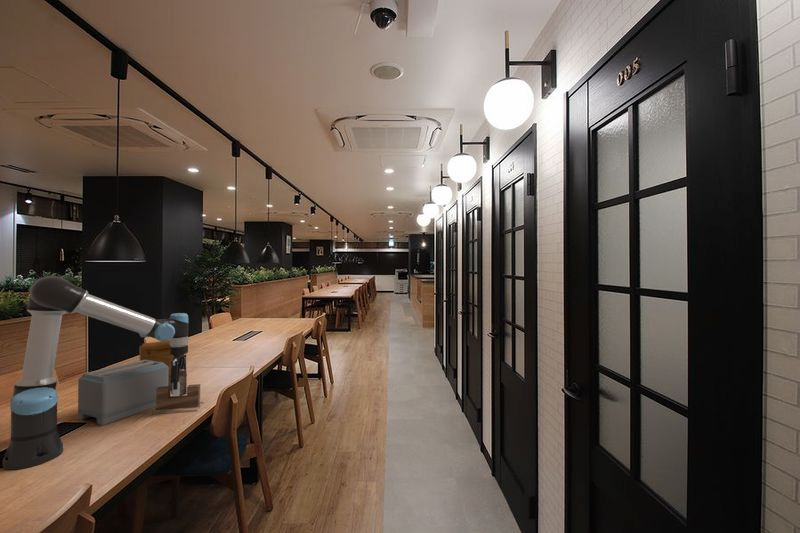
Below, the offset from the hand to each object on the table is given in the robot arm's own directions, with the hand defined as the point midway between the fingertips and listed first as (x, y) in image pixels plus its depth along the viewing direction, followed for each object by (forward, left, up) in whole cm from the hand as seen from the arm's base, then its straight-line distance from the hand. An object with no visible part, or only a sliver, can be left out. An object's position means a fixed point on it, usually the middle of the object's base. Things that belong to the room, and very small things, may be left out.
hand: (178, 393), depth 174 cm
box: (0, 0, -1) cm, 1 cm away
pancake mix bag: (+29, +18, -8) cm, 35 cm away
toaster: (+5, +22, -8) cm, 24 cm away
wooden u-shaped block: (0, 0, -8) cm, 8 cm away
